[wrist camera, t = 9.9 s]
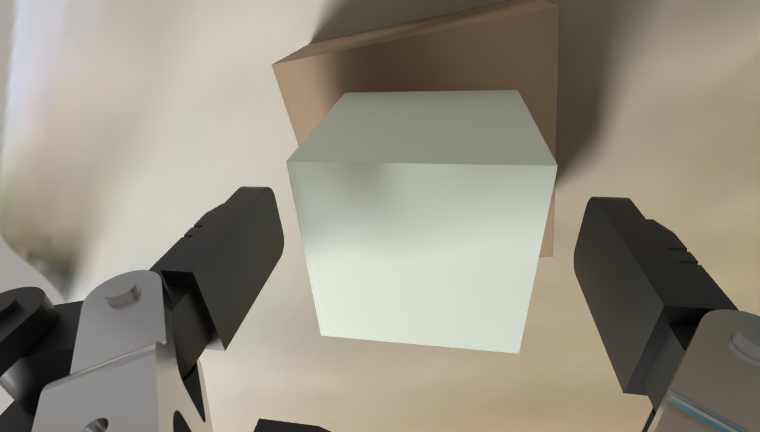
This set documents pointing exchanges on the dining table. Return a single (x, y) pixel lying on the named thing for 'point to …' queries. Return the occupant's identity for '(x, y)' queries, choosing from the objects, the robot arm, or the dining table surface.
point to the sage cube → (424, 216)
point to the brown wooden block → (436, 66)
